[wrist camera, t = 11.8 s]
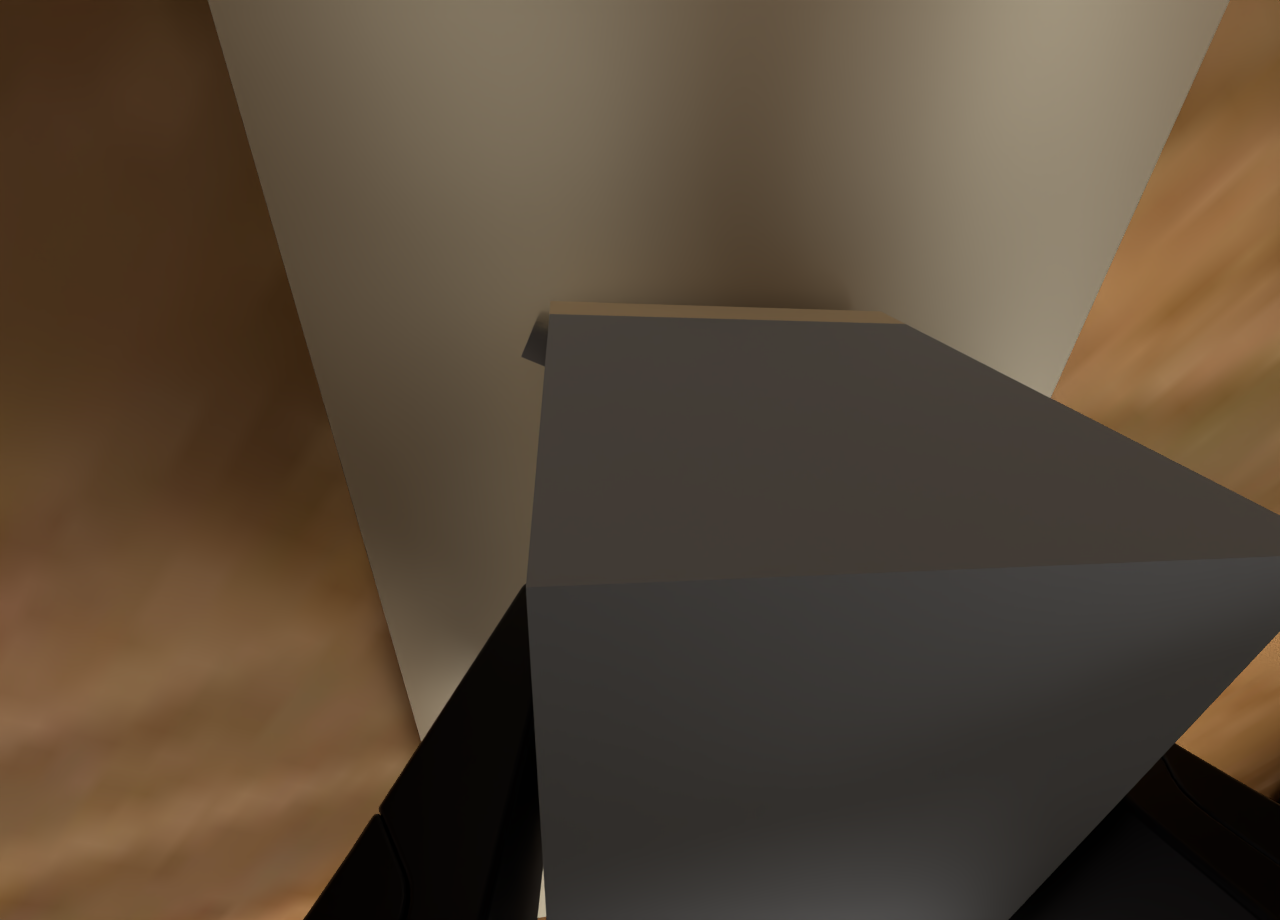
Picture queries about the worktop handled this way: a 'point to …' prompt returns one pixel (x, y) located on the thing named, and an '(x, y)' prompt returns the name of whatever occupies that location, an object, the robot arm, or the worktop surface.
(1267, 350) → the worktop surface
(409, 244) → the board
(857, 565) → the block
